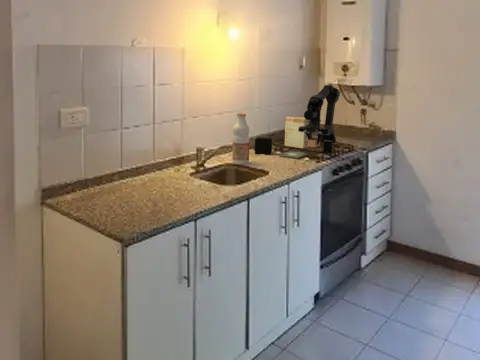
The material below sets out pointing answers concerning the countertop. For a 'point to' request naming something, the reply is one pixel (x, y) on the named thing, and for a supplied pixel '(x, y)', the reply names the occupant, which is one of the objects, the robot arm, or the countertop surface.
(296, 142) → the coffeecake box
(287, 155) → the pad
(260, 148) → the electronic device
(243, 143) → the fruit juice
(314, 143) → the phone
